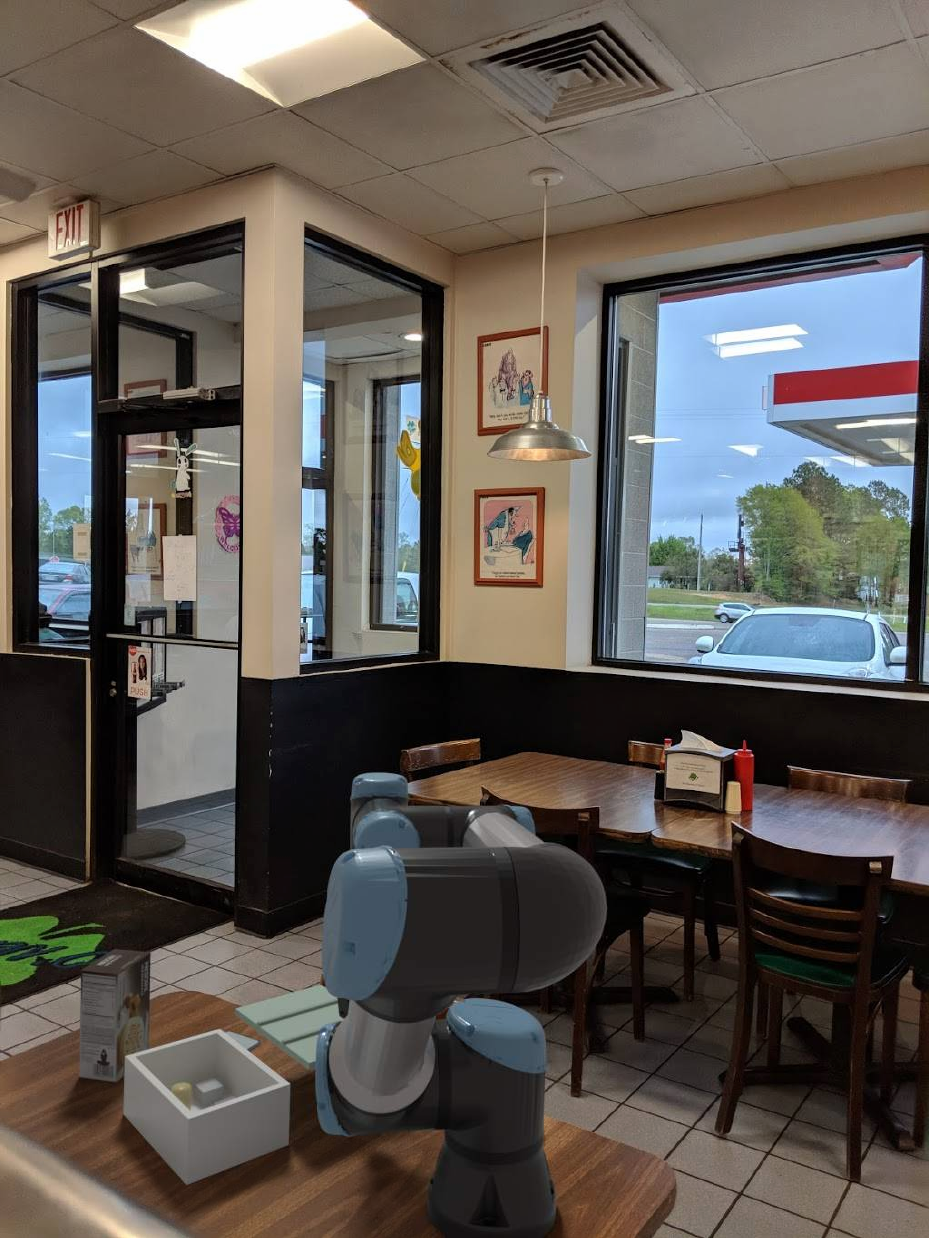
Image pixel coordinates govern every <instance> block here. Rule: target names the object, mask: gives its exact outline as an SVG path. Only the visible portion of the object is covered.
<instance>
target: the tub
mask: <svg viewBox="0 0 929 1238" xmlns="http://www.w3.org/2000/svg"><path fill="white" fill-rule="evenodd" d="M225 1032H226V1031H224V1030H222V1029H221V1028H218V1029H215V1030H210V1031H208V1032H203V1033H200V1034H196V1035H193V1036H189V1037H187V1038H182V1039H180V1040H177V1041H172V1042H169V1043H166V1044H163V1045H159V1046H155V1047H152V1048H149V1049H148V1050H144V1051H141V1052H137V1053H134V1054H131V1055H127V1056H125V1075H124V1076H123V1077H124V1078H123V1079H124V1080H123V1081H124V1084H123V1115H124V1117H125V1118H126V1119H127V1121H129V1122H130V1124H131V1125H132V1126H133V1127H134V1128H135V1130H137V1131H138V1132H139V1133H140V1135H142V1136H143V1138H144V1139H145V1140H146V1141H147V1142H148V1144H149V1145H150V1146H151V1147H152V1148H153V1149H154V1151H156V1153H157V1154H158V1155H159V1156H160V1157H161V1158H162V1160H164V1162H165V1163H166V1164H167V1165H168V1166H169V1167H170V1169H172V1171H174V1173H175V1174H176V1175H177V1176H178V1177H179V1178H180V1180H181V1181H182V1182H183V1183H184V1184H185V1185H186V1186H188V1185H191V1184H193V1183H195V1182H197V1181H201V1180H203V1179H205V1178H208V1177H211V1176H214V1175H216V1174H218V1173H221V1172H223V1171H227V1170H229V1169H231V1168H234V1167H236V1166H239V1165H241V1164H244V1163H246V1162H249V1161H251V1160H254V1159H257V1158H259V1157H261V1156H264V1155H267V1154H269V1153H272V1152H274V1151H277V1150H280V1149H281V1148H284V1147H288V1146H289V1143H290V1139H289V1137H290V1113H291V1112H290V1111H291V1110H290V1109H291V1108H290V1107H291V1083H290V1082H288V1081H287V1080H286V1079H285V1078H283V1077H282V1075H280V1074H279V1073H277V1072H276V1071H275V1070H273V1069H272V1068H271V1067H270V1066H268V1065H267V1064H266V1063H264V1062H263V1061H262V1060H261V1059H259V1057H256V1056H255V1055H254V1054H253V1053H252V1052H251V1051H248V1050H247V1049H245V1048H244V1047H243V1046H241V1045H240V1044H239V1043H238V1042H236V1041H235V1040H234V1039H233V1038H231V1037H230V1036H229V1035H227V1034H226V1033H225Z"/></svg>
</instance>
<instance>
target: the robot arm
mask: <svg viewBox="0 0 929 1238" xmlns="http://www.w3.org/2000/svg"><path fill="white" fill-rule="evenodd" d="M351 785H352V786H351V796H350V799H349V800H350V804H351V805H350V840H349V841H350V843H349V844H350V847H349V848H350V849H349V850H348V851H345V852H342V854H341V855H339V857H338V858H337V859H336V861H335V862H334V864H333V867H332V870H331V873H330V876H329V879H328V883H327V884H328V885H327V891H326V895H327V896H326V902H325V905H324V911H323V923H322V938H321V969H322V978H323V981H324V985H325V987H326V989H327V991H328V992H329V993H330V994H331V995H332V996H334V997H337V998H338V1009H339V1016H340V1017H342V1018H343V1019H344V1020H343V1021H337V1022H334V1023H329V1024H325V1025H324V1026H322V1027H321V1029H320V1031H319V1035H318V1039H317V1046H316V1065H315V1069H314V1070H315V1097H316V1105H317V1106H316V1111H317V1113H316V1114H317V1118H318V1121H319V1125H320V1128H321V1129H322V1130H323V1132H325V1133H326V1134H328V1135H337V1136H340V1135H341V1136H345V1137H355V1136H357V1135H373V1134H391V1133H405V1132H406V1133H407V1132H408V1133H409V1132H423V1131H443V1130H444V1135H443V1136H444V1137H443V1143H442V1145H441V1148H440V1150H439V1153H438V1157H437V1160H436V1165H435V1168H434V1171H433V1172H432V1174H431V1176H430V1179H429V1181H428V1186H427V1196H426V1197H427V1199H426V1200H427V1201H426V1202H427V1203H426V1210H427V1211H426V1212H427V1215H428V1217H429V1220H430V1223H431V1224H432V1225H433V1227H435V1229H436V1230H437V1231H438V1232H439V1233H440V1234H441V1235H443V1236H444V1237H446V1238H544V1237H545V1236H547V1234H548V1233H549V1232H550V1231H551V1230H552V1228H553V1226H554V1225H555V1223H556V1216H557V1192H556V1188H555V1184H554V1182H553V1180H552V1174H551V1170H550V1167H549V1166H550V1165H549V1163H548V1158H547V1156H546V1151H545V1150H544V1149H545V1148H544V1126H545V1099H546V1097H545V1096H546V1072H547V1071H546V1070H547V1069H548V1059H547V1045H546V1044H547V1043H546V1033H545V1029H544V1028H543V1026H542V1024H541V1023H540V1021H538V1019H537V1018H536V1017H534V1015H532V1014H531V1013H530V1012H528V1011H526V1010H525V1009H523V1008H521V1007H518V1006H516V1005H514V1004H511V1003H508V1002H505V1001H501V1000H497V999H491V998H490V999H489V998H481V997H480V998H478V997H473V998H465V999H463V1000H461V1001H460V1000H459V1001H456V1000H457V998H458V996H465V995H487V994H488V995H490V994H491V995H494V994H513V993H528V992H533V991H536V990H541V989H544V988H545V987H548V986H551V985H553V984H555V983H557V982H559V981H561V980H563V979H564V978H566V977H567V976H569V975H570V974H572V973H573V972H575V971H576V970H577V969H578V968H579V967H580V966H581V965H583V963H584V962H585V961H586V960H587V959H588V958H589V957H590V956H591V954H592V953H593V951H594V950H595V949H596V947H597V946H598V945H597V944H598V942H599V941H600V939H601V937H602V935H603V932H604V927H605V925H606V921H607V915H608V914H607V913H608V912H607V911H608V906H607V903H608V902H607V896H606V891H605V887H604V885H603V882H602V880H601V878H600V877H599V874H598V872H596V870H595V868H594V867H593V866H592V865H591V864H590V863H589V862H588V861H587V860H586V859H585V858H584V857H582V856H581V855H580V854H578V853H577V852H576V851H574V850H572V849H571V848H569V847H567V846H566V845H565V846H564V845H562V844H559V843H554V842H544V841H543V840H542V839H540V837H538V836H537V835H536V826H535V821H534V819H533V816H532V813H531V811H530V810H529V809H528V808H527V807H524V806H517V805H512V806H511V805H508V804H498V805H472V806H471V805H470V806H469V805H467V806H465V805H464V806H463V805H462V806H461V805H460V806H459V805H458V806H455V805H454V806H453V805H452V806H451V805H409V801H410V796H409V783H408V780H407V778H406V777H404V776H403V775H401V774H396V773H391V772H390V773H389V772H366V773H362V774H359V775H357V776H355V777H354V778H353V780H352V784H351ZM455 1001H456V1002H455ZM446 1010H448V1011H447V1012H446V1017H445V1018H444V1019H440V1018H439V1019H436V1018H437V1016H439V1015H441V1014H442V1013H444V1012H445V1011H446Z"/></svg>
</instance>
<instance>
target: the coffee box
mask: <svg viewBox="0 0 929 1238" xmlns="http://www.w3.org/2000/svg"><path fill="white" fill-rule="evenodd" d="M151 954H152V952H150V951H139V950H138V951H137V950H130V949H120V948H119V949H118V948H114V949H112V950H110V951H109V952H108V953H106V954H105V955H103V956H101V957H100V958H97V959H96V960H95V961H93V962H91V963H89V965H87V966H85V967H83V968H82V969H81V970H80V1001H79V1002H80V1005H79V1006H80V1007H79V1008H80V1009H79V1010H80V1011H79V1016H80V1017H79V1058H78V1059H79V1061H78V1062H79V1064H78V1065H79V1067H78V1070H79V1071H78V1072H79V1073H78V1076H79V1077H80V1078H84V1079H89V1080H99V1081H105V1082H112V1083H117V1082H119V1081H120V1080H121V1079H122V1078H123V1077H124V1076H125V1056H127V1055H131V1054H134V1053H137V1052H141V1051H144V1050H148V1049H150V1010H151V1009H150V1005H151V1003H150V1001H151Z"/></svg>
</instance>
